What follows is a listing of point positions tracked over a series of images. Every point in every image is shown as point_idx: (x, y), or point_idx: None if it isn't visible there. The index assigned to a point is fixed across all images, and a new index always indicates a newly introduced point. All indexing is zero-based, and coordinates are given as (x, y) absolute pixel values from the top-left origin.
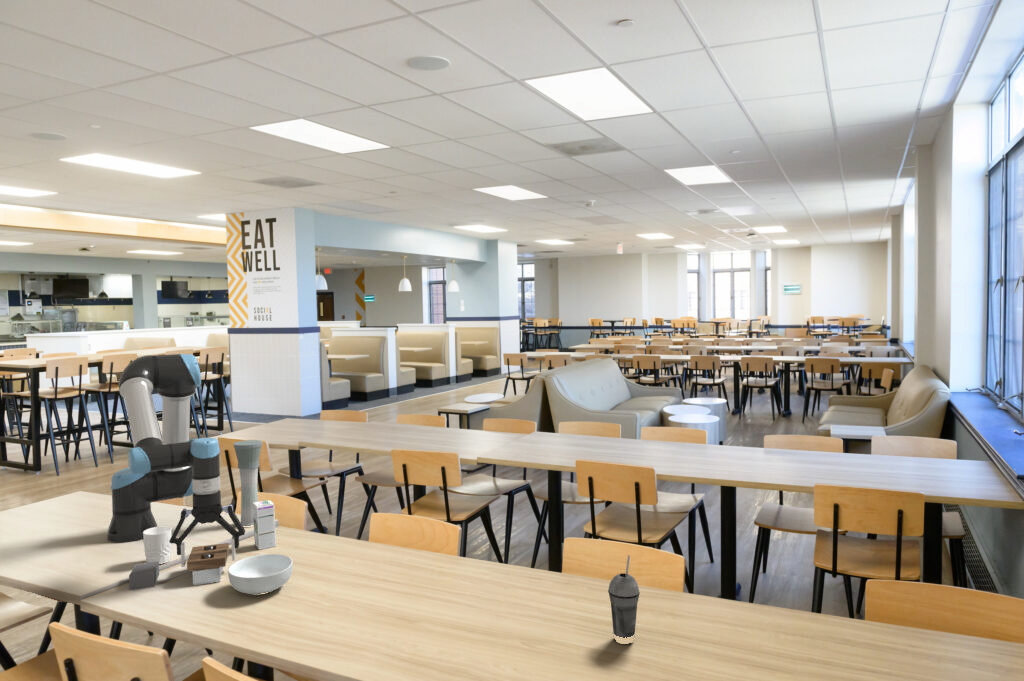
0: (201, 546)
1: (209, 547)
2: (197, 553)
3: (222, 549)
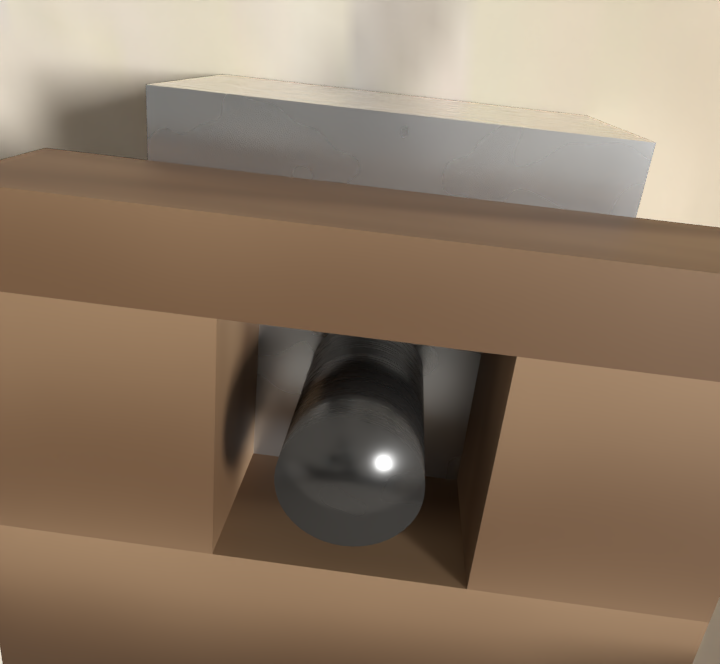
0: (146, 236)
1: (341, 539)
2: (127, 628)
3: (598, 649)
